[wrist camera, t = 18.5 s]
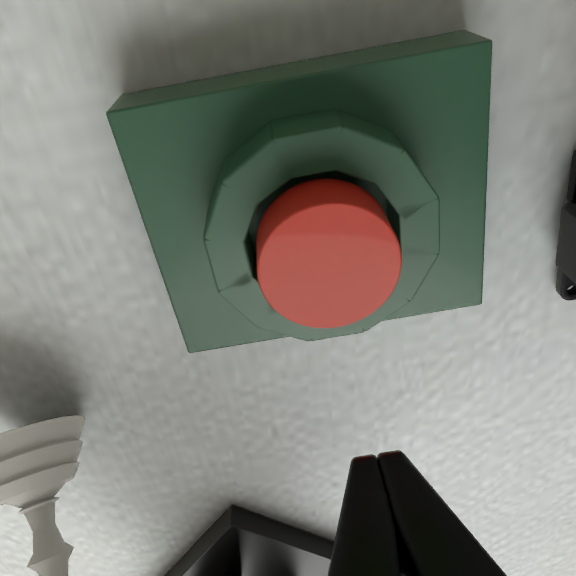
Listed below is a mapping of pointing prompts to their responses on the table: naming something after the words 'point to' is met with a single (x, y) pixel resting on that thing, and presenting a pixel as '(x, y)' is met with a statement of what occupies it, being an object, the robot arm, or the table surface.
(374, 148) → the button box
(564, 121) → the table surface
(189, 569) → the bracket
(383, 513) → the robot arm
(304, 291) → the button
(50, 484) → the chalice
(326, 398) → the table surface
